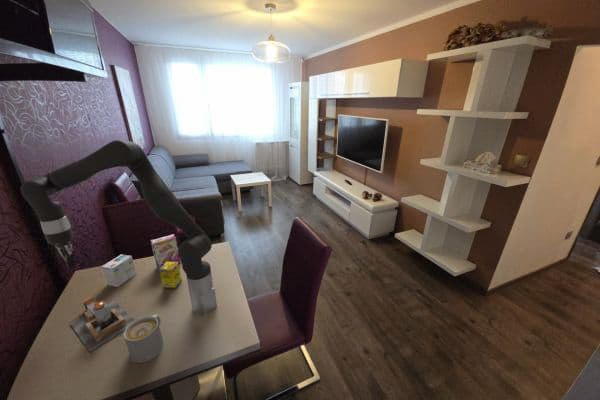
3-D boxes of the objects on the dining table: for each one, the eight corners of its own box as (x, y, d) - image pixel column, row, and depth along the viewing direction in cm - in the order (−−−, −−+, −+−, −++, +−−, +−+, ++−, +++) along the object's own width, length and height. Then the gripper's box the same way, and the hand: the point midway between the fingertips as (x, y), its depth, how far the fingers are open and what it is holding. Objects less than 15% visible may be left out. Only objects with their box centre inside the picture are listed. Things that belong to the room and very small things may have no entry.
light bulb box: (126, 271, 127) (121, 253, 123) (137, 273, 125) (132, 255, 121) (106, 285, 117) (100, 266, 113) (118, 287, 116) (111, 268, 112)
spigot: (116, 326, 95) (108, 302, 91) (103, 334, 92) (94, 310, 88) (111, 320, 97) (103, 297, 93) (98, 328, 94) (89, 305, 90)
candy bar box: (158, 272, 127) (151, 244, 121) (156, 267, 130) (149, 240, 124) (181, 263, 133) (176, 237, 127) (178, 259, 137) (173, 233, 131)
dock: (136, 322, 97) (134, 314, 96) (90, 352, 86) (86, 342, 84) (114, 301, 108) (111, 293, 106) (70, 324, 96) (66, 316, 94)
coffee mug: (148, 365, 81) (141, 343, 78) (123, 358, 83) (116, 337, 80) (176, 331, 93) (171, 311, 90) (154, 326, 96) (148, 306, 92)
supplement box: (176, 288, 115) (172, 269, 111) (163, 288, 115) (159, 269, 111) (182, 280, 121) (178, 261, 117) (170, 280, 121) (166, 261, 117)
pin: (104, 315, 99) (101, 307, 98) (94, 320, 97) (91, 312, 95) (94, 303, 105) (91, 296, 103) (84, 308, 102) (81, 300, 101)
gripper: (76, 229, 93) (89, 268, 99) (64, 220, 100) (78, 257, 106) (49, 237, 87) (65, 278, 93) (38, 227, 94) (54, 265, 100)
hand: (72, 266), depth 100 cm, fingers closed
